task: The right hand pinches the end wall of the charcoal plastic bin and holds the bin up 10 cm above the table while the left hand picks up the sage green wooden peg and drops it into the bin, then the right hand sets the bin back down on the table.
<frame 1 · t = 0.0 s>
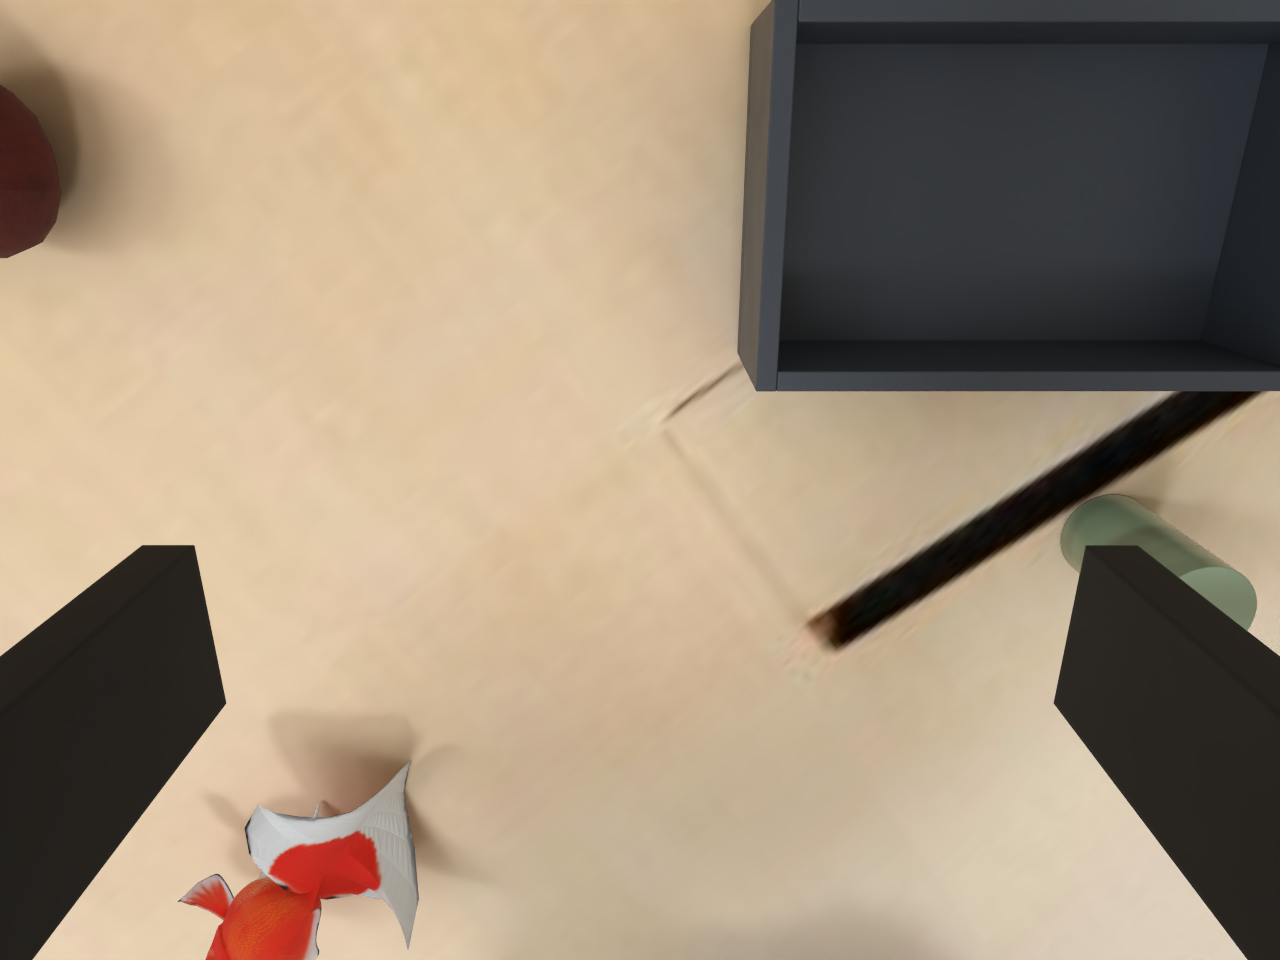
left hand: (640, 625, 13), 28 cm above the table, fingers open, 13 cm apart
dark red ball: (13, 163, 37), on the table
fish: (333, 820, 49), on the table
bin: (991, 199, 37), on the table
peg: (1104, 534, 43), on the table
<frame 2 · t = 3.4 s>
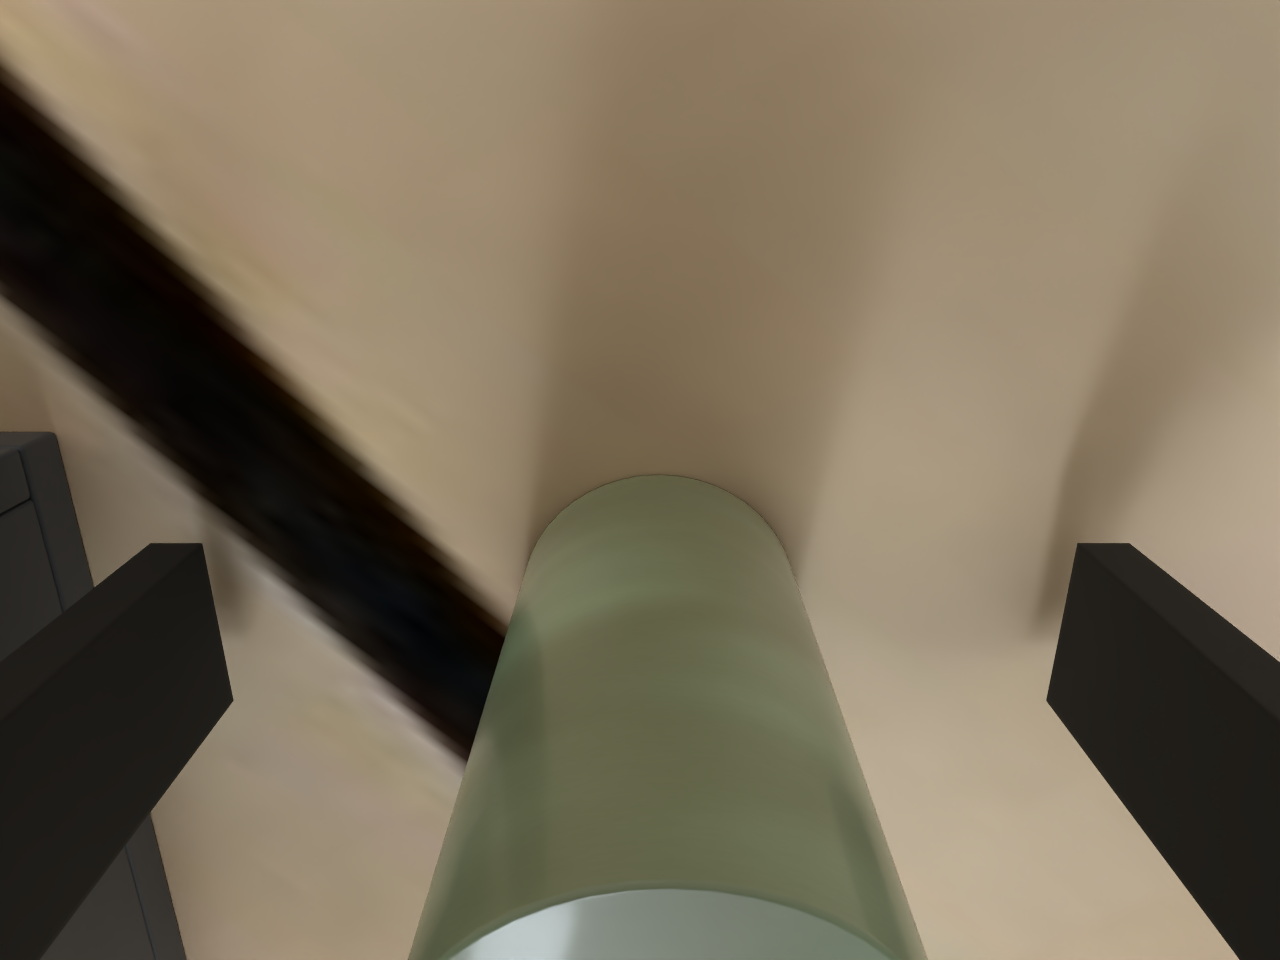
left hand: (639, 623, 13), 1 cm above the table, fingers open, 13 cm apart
peg: (658, 600, 14), on the table
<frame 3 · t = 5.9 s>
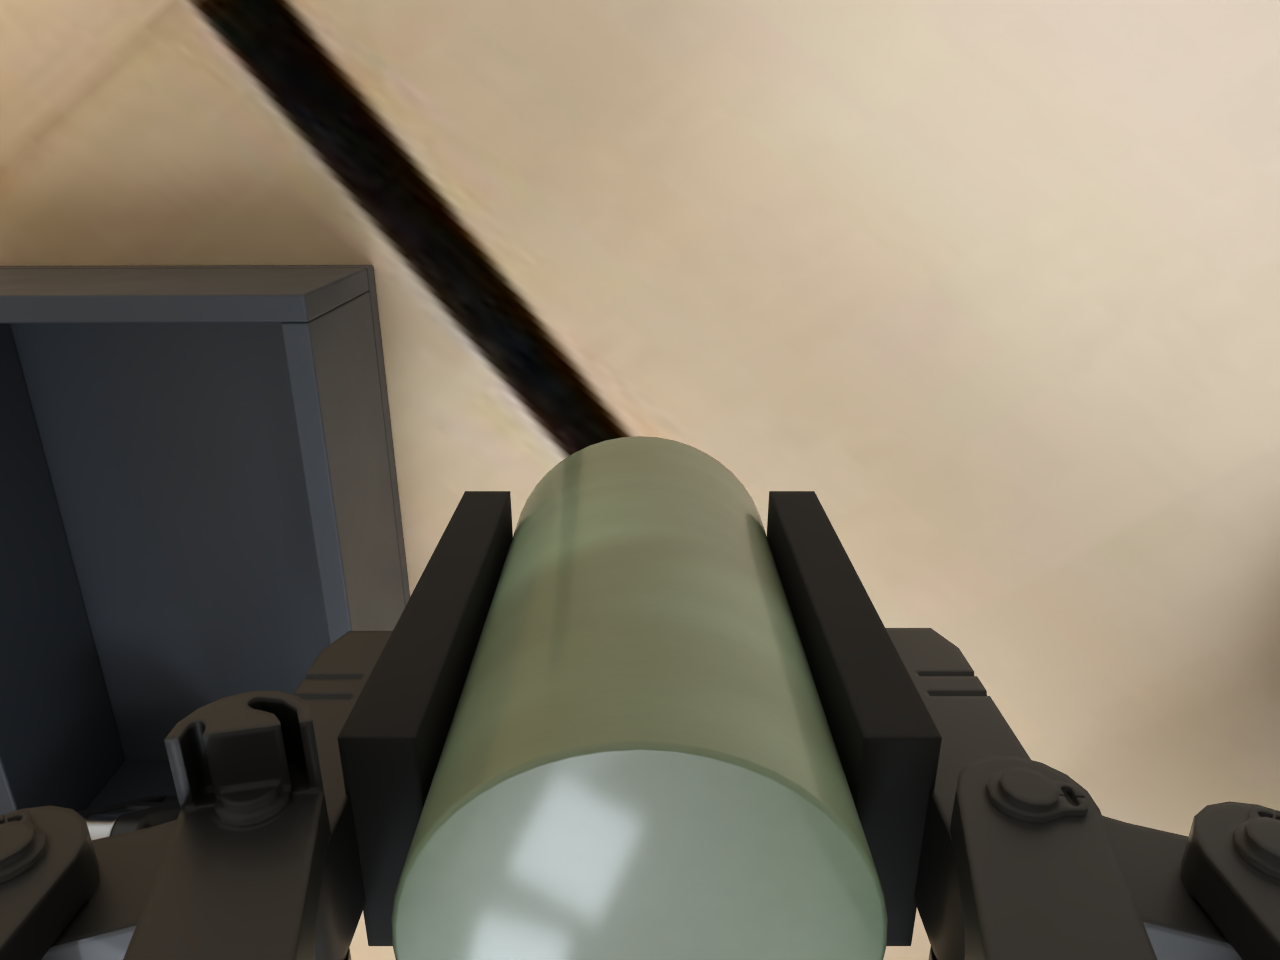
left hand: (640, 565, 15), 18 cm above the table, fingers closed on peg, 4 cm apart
bin: (233, 541, 34), on the table, touching right hand
peg: (639, 554, 15), point 18 cm above the table, touching left hand
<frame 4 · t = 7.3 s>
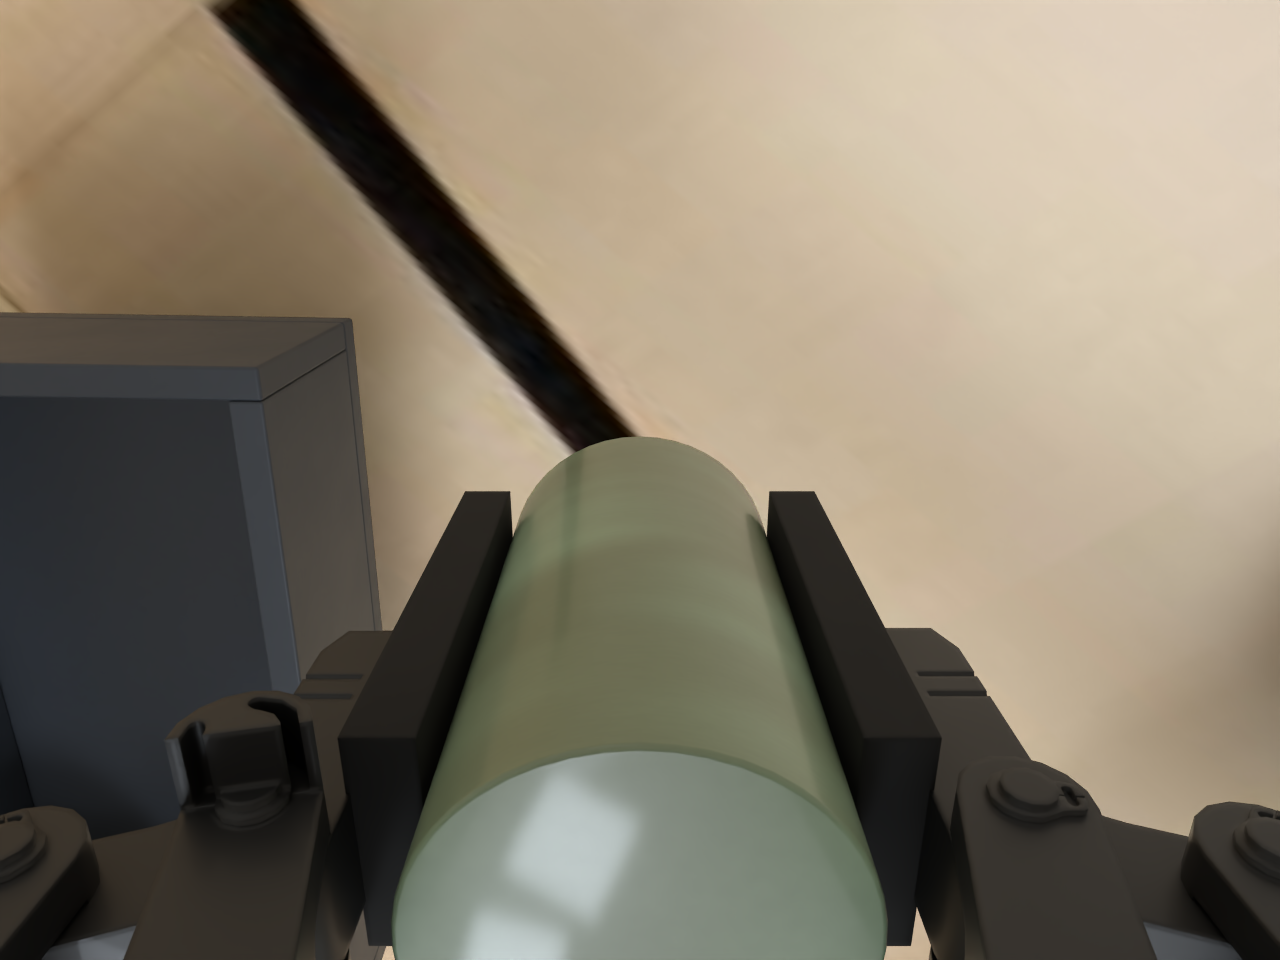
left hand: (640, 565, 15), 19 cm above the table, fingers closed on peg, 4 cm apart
bin: (183, 632, 29), point 6 cm above the table, touching right hand
peg: (639, 555, 15), point 18 cm above the table, touching left hand
when the left hand's fingers open (19 cm above the table, at t = 10.3 s): peg drops 8 cm, resting on bin.
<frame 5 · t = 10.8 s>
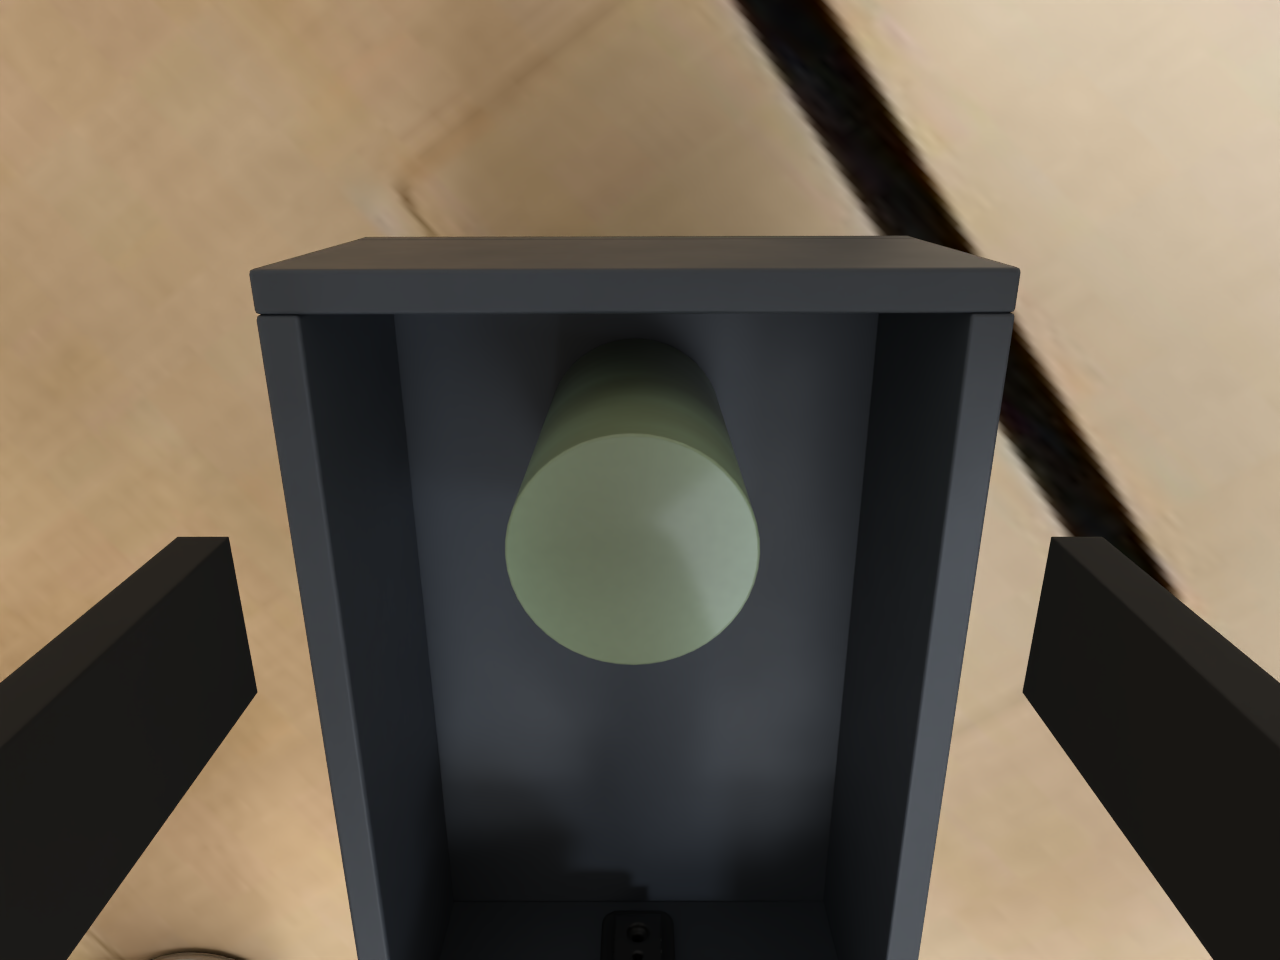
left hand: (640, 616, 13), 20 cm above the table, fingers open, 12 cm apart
bin: (637, 617, 25), point 10 cm above the table, touching right hand, peg
peg: (635, 422, 22), point 11 cm above the table, touching bin
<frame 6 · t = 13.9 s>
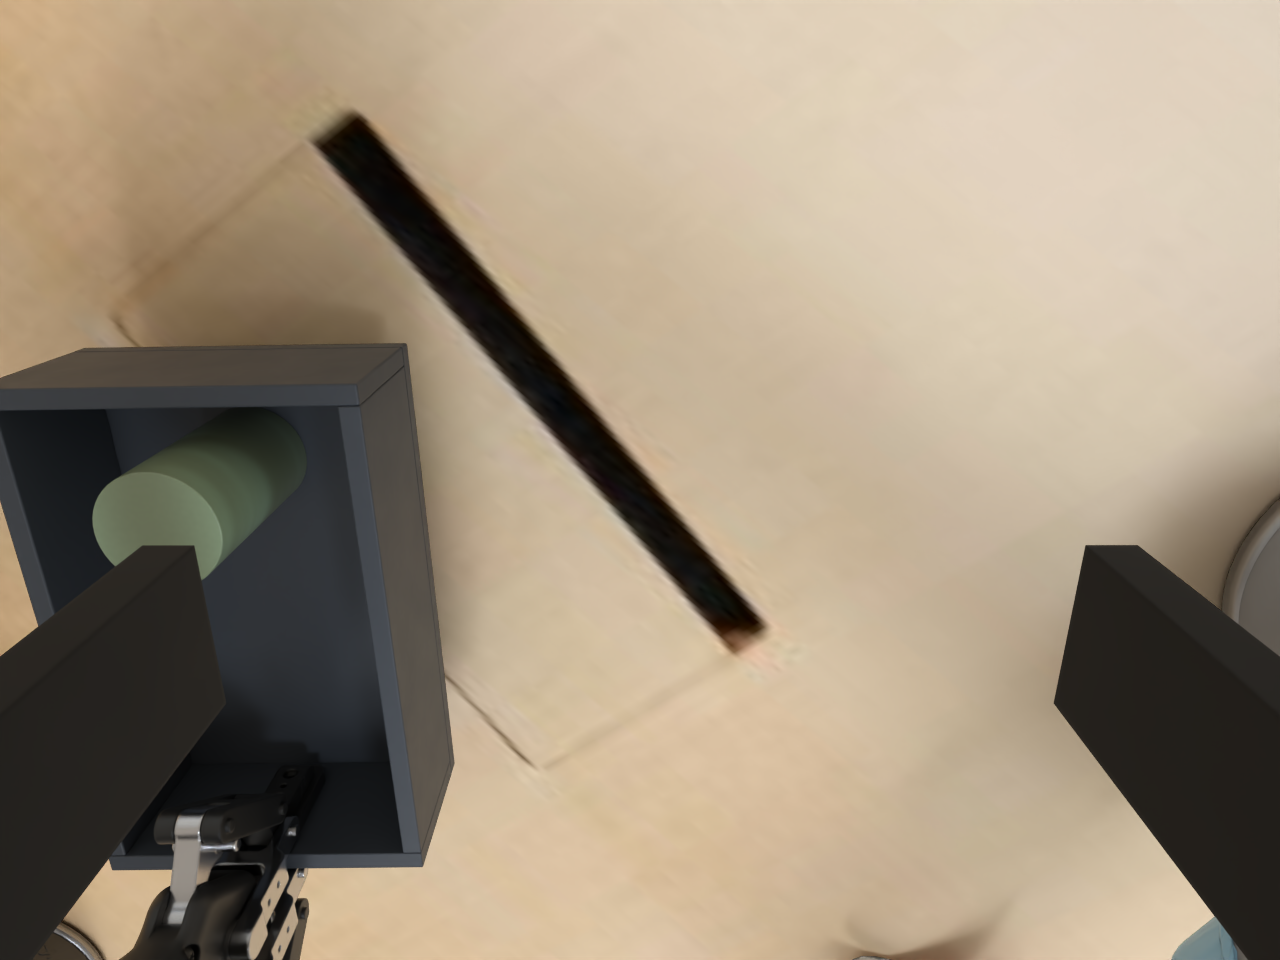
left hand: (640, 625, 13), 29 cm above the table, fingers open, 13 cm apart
bin: (287, 575, 40), point 4 cm above the table, touching right hand
peg: (255, 455, 37), point 5 cm above the table
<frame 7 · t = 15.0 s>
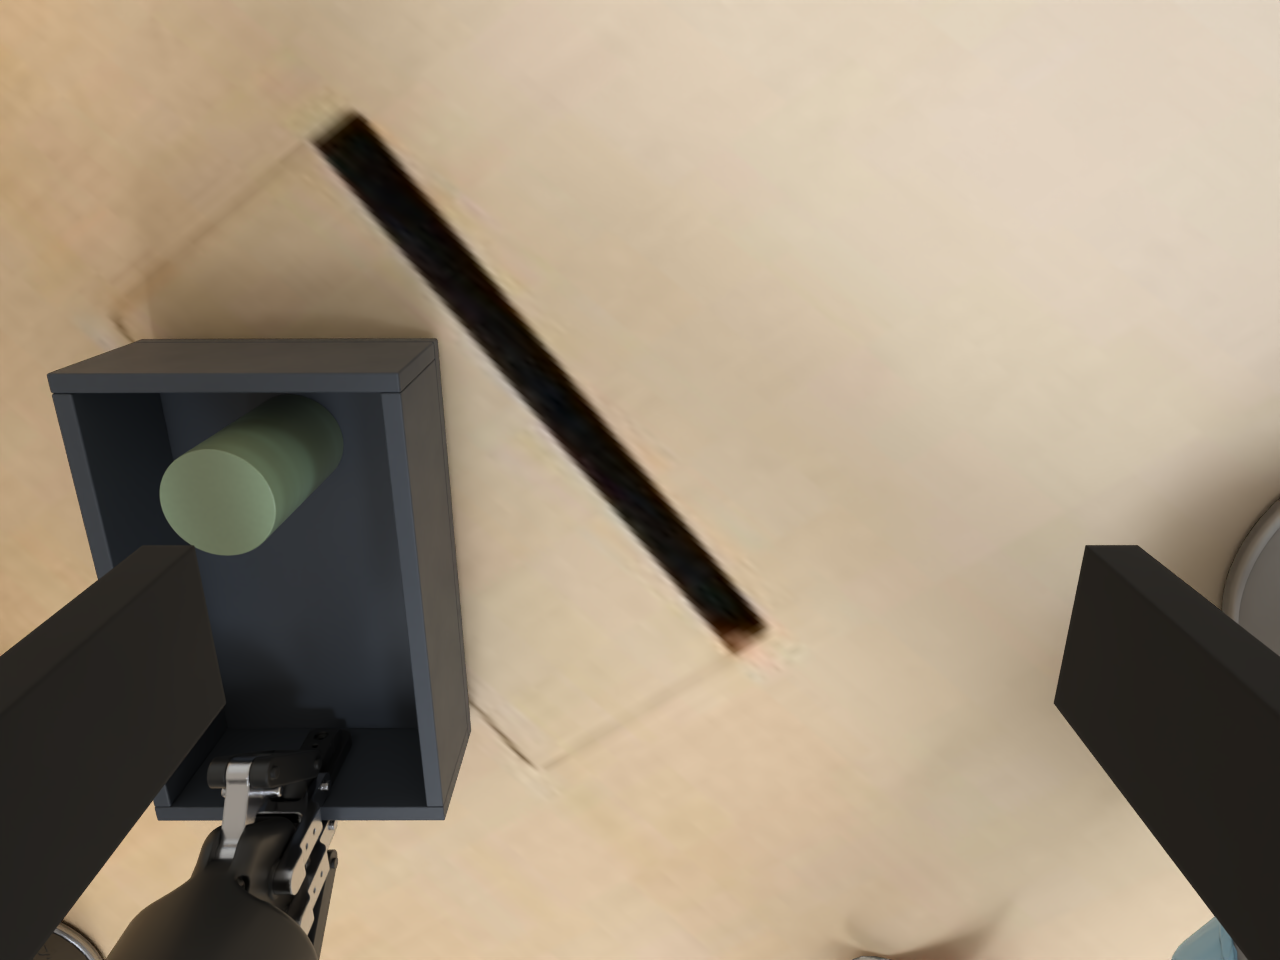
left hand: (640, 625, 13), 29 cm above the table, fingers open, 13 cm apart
bin: (320, 552, 43), point 1 cm above the table, touching right hand, peg
peg: (296, 439, 40), point 2 cm above the table, touching bin
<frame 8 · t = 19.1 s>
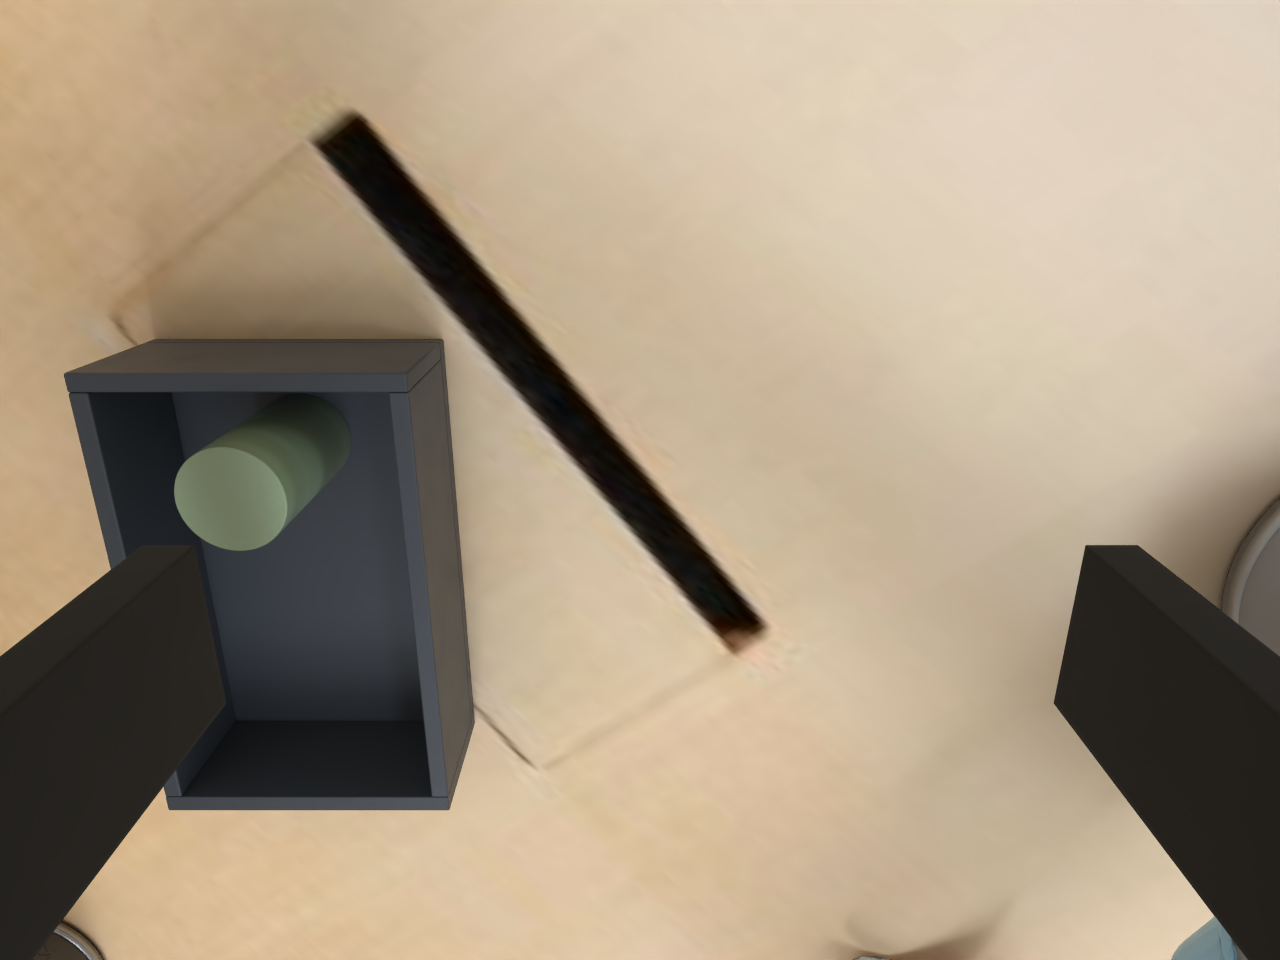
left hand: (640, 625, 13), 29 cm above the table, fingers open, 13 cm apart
bin: (328, 547, 44), on the table, touching peg
peg: (305, 438, 41), point 1 cm above the table, touching bin
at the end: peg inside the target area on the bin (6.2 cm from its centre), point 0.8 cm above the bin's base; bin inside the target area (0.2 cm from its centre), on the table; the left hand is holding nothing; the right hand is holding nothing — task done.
